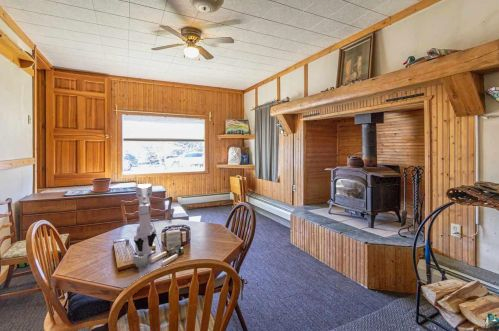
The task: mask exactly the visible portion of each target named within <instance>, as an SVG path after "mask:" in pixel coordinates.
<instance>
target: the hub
mask: <svg viewBox="0 0 499 331" xmlns="http://www.w3.org/2000/svg"><path fill="white" fill-rule="evenodd" d="M148 257H149V255H148V254H144V253H139V254H137V255H136V254H134V256H133V264H134V263H135V264H136V268H140V269H142V268H144V267H146V266H147V265H148V261H149V260H148Z"/></svg>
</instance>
